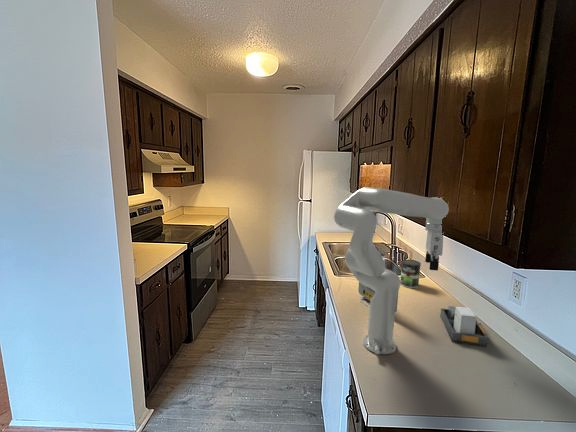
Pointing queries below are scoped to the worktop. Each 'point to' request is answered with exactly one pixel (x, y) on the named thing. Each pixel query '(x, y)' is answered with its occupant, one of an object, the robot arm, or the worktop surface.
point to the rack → (476, 339)
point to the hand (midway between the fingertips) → (431, 266)
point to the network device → (369, 294)
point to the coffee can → (410, 273)
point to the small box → (464, 320)
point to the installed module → (451, 312)
